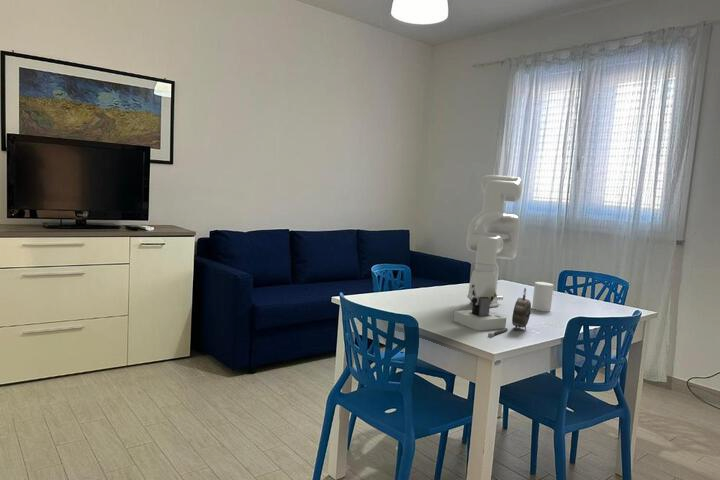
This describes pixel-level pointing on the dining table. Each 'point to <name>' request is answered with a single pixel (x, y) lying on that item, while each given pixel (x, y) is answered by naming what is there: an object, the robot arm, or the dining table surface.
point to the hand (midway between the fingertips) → (480, 313)
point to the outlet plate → (479, 320)
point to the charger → (483, 307)
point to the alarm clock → (521, 312)
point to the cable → (496, 332)
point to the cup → (542, 296)
